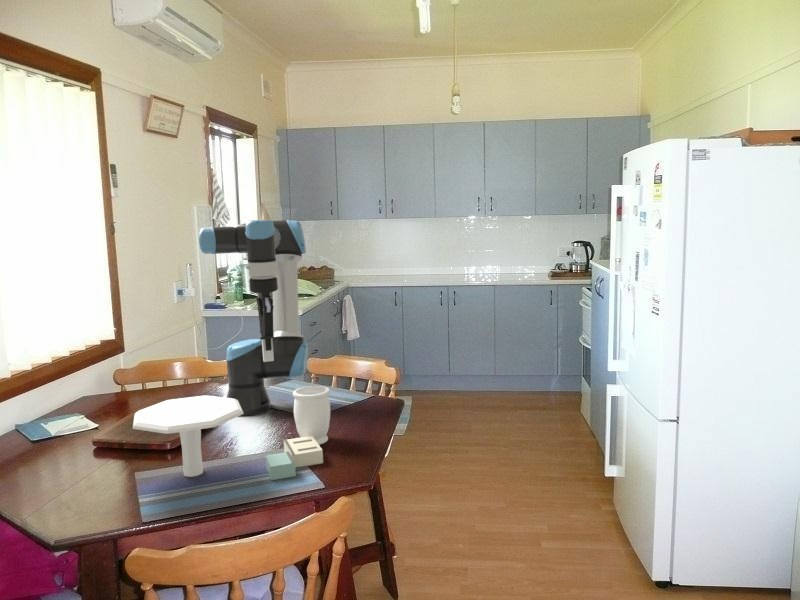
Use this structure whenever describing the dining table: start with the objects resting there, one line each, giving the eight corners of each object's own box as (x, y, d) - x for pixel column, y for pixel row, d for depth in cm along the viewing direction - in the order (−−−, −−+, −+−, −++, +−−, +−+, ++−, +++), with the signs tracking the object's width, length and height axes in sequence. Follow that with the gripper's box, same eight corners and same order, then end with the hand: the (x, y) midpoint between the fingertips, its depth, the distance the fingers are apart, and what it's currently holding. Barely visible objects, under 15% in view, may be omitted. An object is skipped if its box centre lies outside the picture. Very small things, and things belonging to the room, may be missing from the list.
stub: (266, 468, 164) (265, 455, 163) (289, 464, 166) (288, 451, 165) (271, 480, 156) (270, 466, 156) (295, 476, 158) (294, 462, 158)
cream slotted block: (284, 452, 175) (283, 439, 174) (312, 447, 178) (312, 435, 177) (292, 468, 164) (292, 454, 163) (323, 462, 166) (322, 449, 166)
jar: (325, 448, 177) (322, 396, 175) (289, 447, 179) (286, 395, 177) (336, 435, 187) (334, 385, 185) (303, 434, 189) (300, 385, 187)
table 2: (161, 453, 177) (156, 395, 175) (261, 451, 176) (257, 392, 174) (113, 498, 149) (106, 429, 147) (231, 496, 148) (226, 427, 146)
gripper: (245, 275, 178) (251, 356, 182) (252, 280, 166) (258, 368, 170) (272, 273, 181) (277, 353, 185) (281, 278, 169) (286, 364, 173)
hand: (268, 360), depth 178 cm, fingers closed
